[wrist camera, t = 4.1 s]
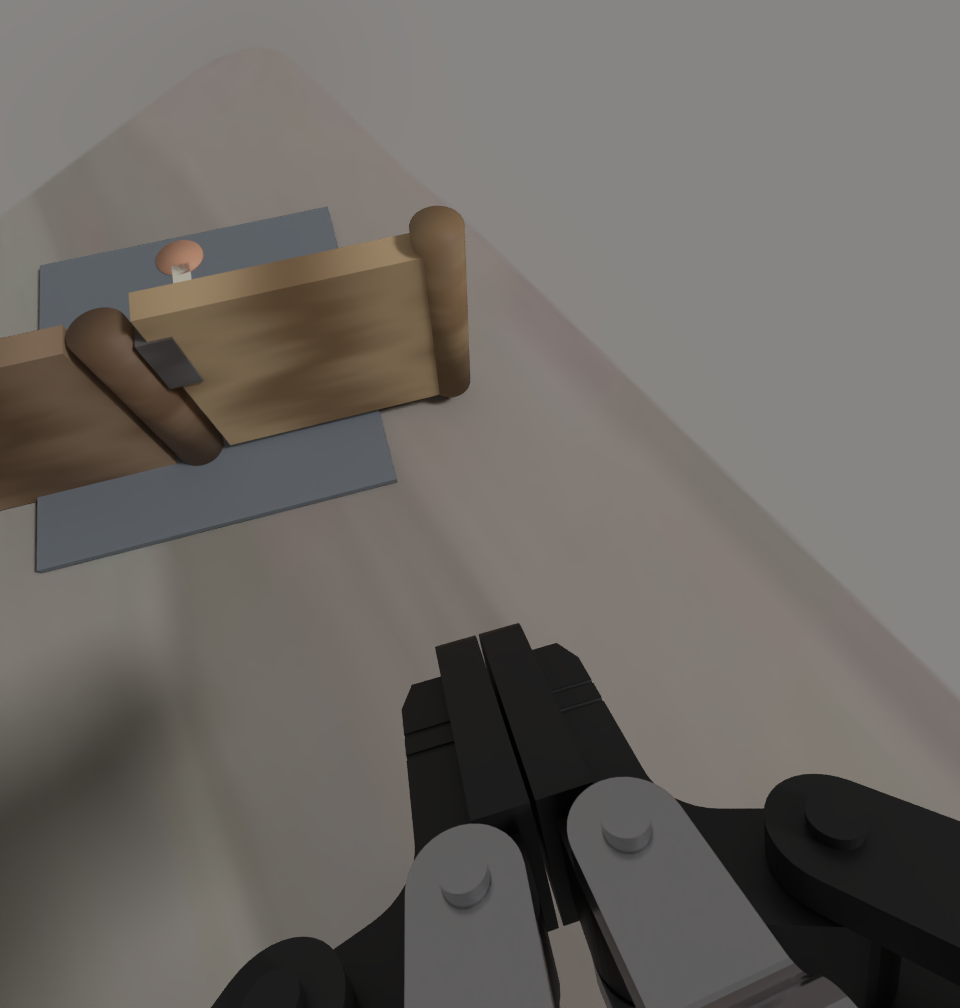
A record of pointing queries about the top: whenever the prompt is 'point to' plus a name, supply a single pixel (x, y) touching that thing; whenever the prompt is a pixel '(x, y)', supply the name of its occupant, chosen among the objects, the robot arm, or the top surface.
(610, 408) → the top surface
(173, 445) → the fence fixed
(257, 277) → the fence gate
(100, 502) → the board
